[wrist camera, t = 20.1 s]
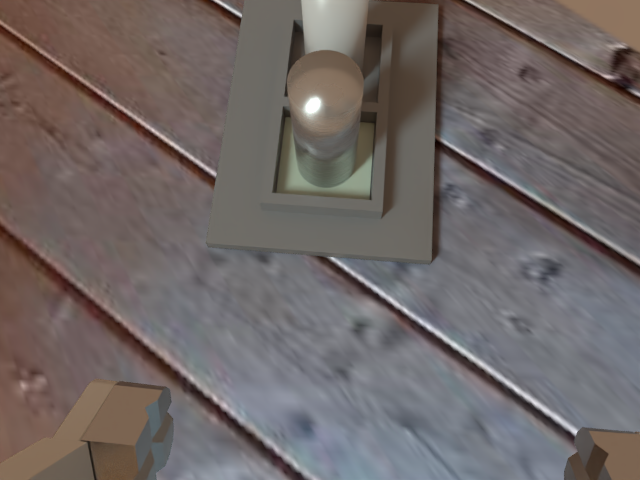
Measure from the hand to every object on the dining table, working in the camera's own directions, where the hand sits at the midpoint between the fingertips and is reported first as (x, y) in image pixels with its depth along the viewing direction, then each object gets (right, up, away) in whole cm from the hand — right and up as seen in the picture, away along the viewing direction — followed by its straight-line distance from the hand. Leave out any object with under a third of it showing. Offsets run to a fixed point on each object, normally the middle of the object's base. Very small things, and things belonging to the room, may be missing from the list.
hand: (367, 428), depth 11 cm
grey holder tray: (0, +13, +32) cm, 35 cm away
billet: (0, +10, +30) cm, 32 cm away
